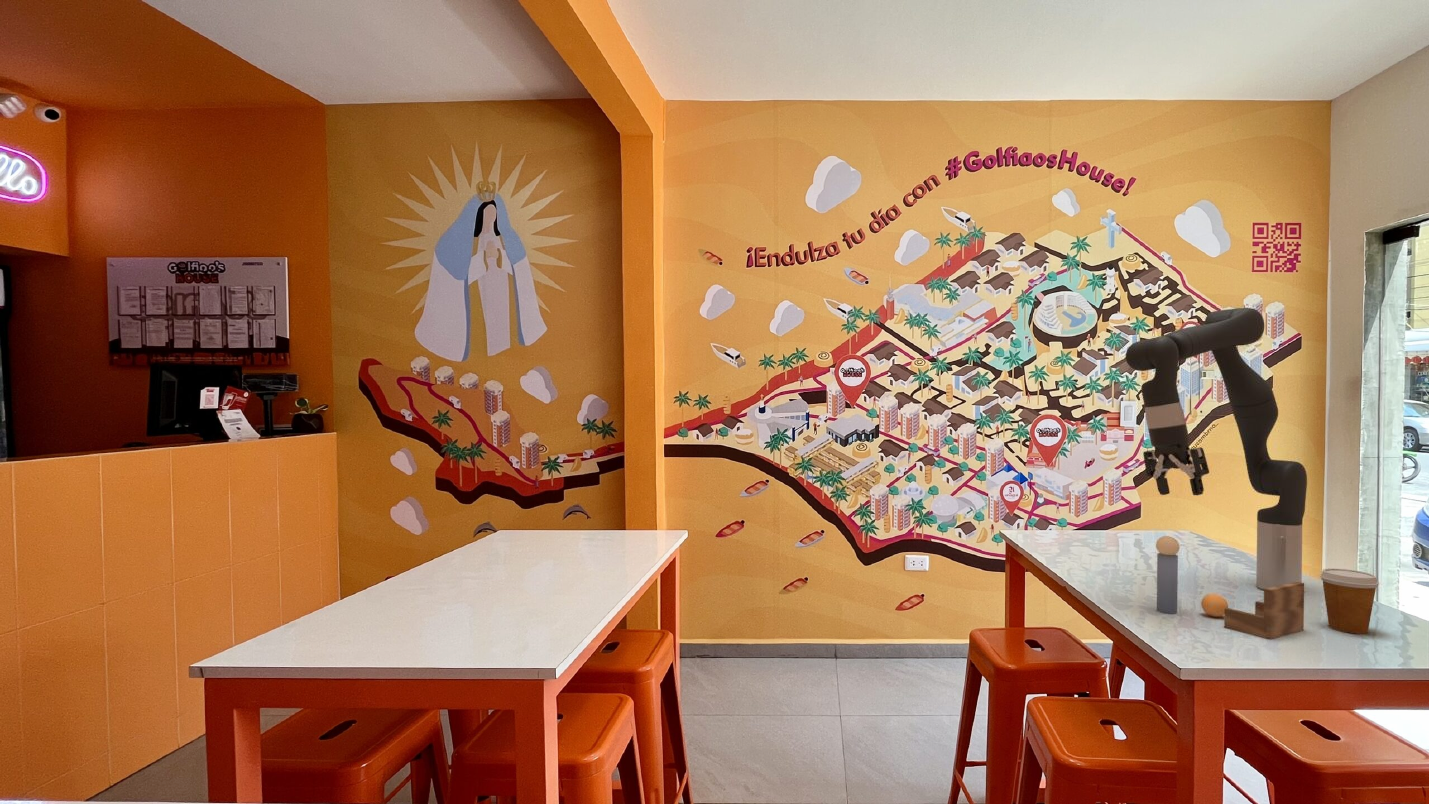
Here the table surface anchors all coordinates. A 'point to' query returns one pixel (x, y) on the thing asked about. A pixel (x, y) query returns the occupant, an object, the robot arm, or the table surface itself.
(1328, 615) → the disposable coffee cup
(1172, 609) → the player figure
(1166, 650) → the table surface
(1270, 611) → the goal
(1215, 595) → the ball
